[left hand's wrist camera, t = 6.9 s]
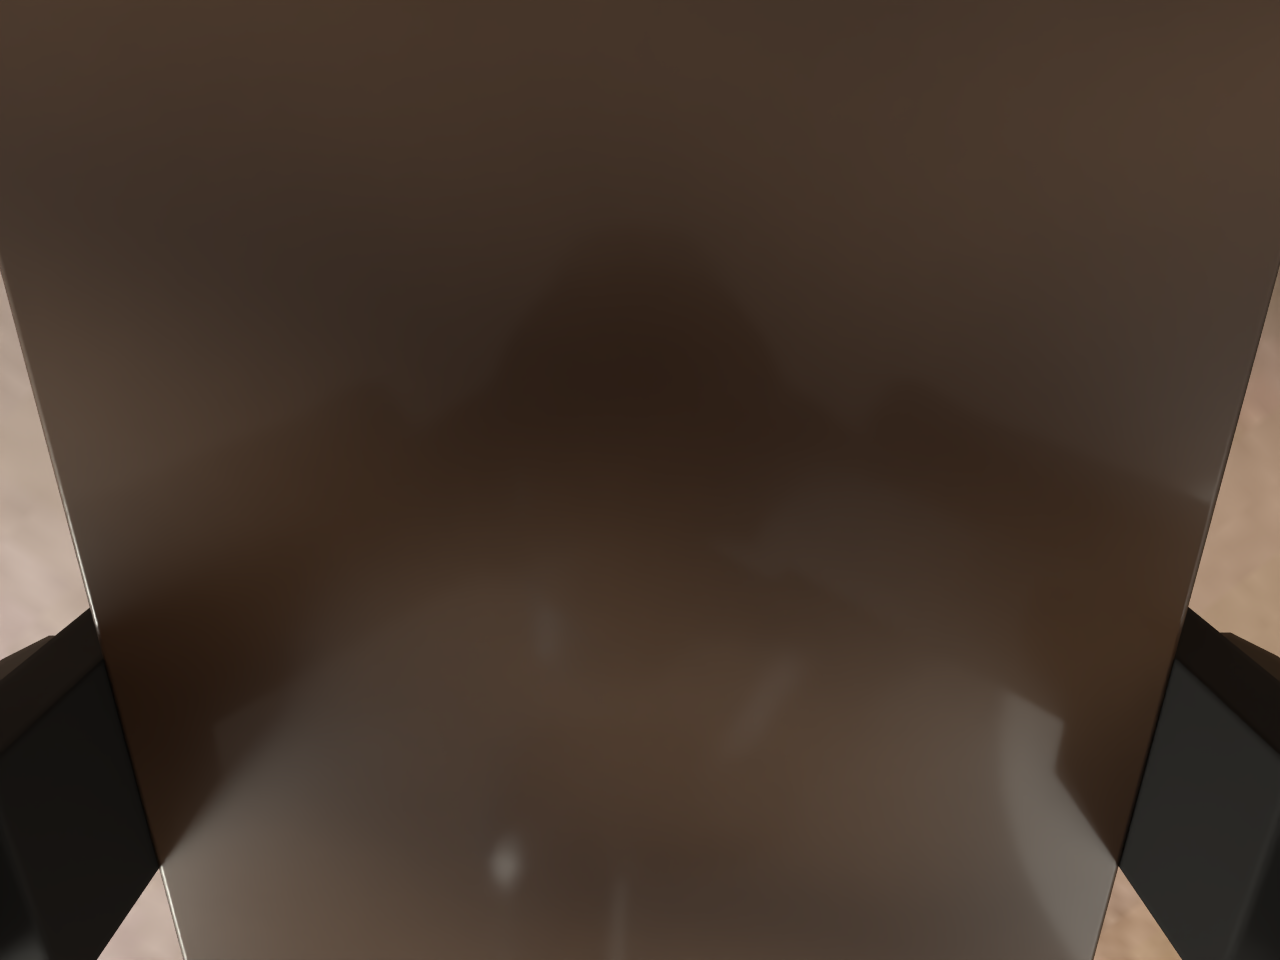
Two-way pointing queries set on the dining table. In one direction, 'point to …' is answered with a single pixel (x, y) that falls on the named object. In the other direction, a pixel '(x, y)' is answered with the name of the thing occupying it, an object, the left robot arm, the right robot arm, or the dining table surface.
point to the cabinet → (639, 450)
